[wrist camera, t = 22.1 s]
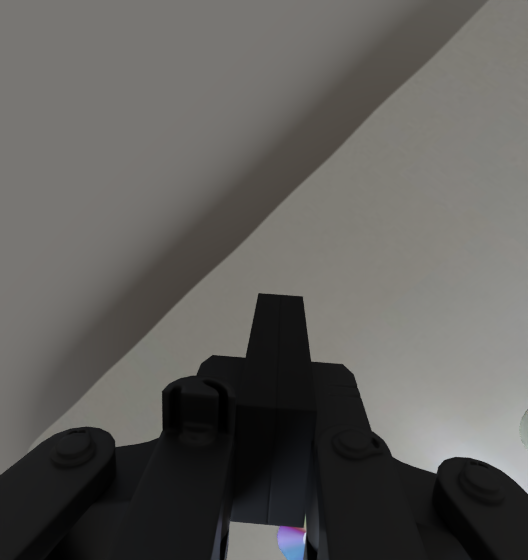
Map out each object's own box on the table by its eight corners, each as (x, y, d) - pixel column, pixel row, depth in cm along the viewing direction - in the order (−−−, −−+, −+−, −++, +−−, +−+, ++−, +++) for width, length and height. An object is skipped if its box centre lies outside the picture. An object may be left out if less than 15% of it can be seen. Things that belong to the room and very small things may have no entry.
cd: (368, 510, 52) (368, 510, 52) (354, 575, 55) (355, 576, 55) (281, 500, 52) (281, 500, 52) (273, 565, 55) (273, 566, 55)
